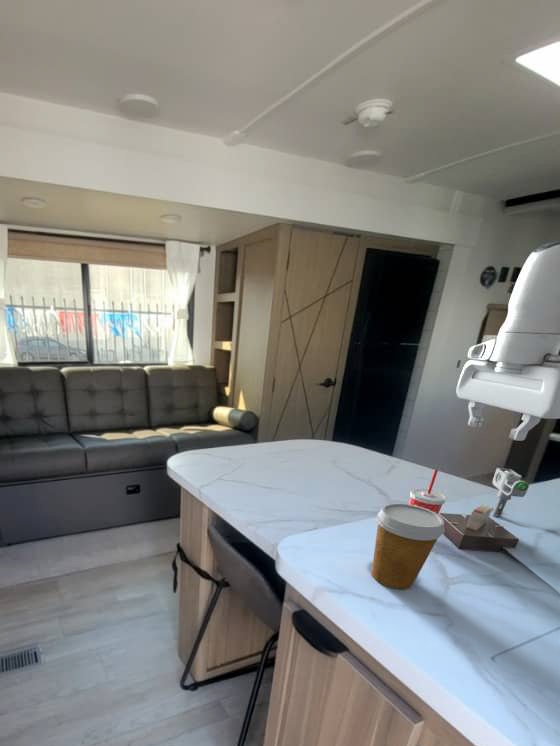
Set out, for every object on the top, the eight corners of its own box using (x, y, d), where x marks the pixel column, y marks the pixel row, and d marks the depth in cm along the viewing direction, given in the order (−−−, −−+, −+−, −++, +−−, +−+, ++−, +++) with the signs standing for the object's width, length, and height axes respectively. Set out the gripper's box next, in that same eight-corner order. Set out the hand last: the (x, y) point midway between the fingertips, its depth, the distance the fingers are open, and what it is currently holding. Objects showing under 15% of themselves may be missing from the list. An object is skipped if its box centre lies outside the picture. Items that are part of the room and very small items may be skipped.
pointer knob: (476, 519, 83) (483, 502, 81) (486, 522, 82) (493, 505, 80) (466, 527, 80) (472, 510, 78) (476, 530, 78) (483, 513, 77)
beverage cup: (431, 545, 79) (455, 478, 73) (397, 536, 82) (417, 471, 76) (432, 533, 84) (455, 468, 78) (400, 525, 86) (419, 462, 80)
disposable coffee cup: (436, 586, 66) (460, 520, 61) (400, 602, 62) (423, 534, 57) (384, 558, 74) (402, 498, 69) (349, 571, 70) (365, 508, 64)
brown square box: (483, 528, 86) (488, 515, 85) (514, 553, 77) (520, 538, 76) (433, 524, 87) (437, 511, 86) (458, 549, 78) (463, 534, 76)
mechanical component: (499, 524, 88) (517, 481, 84) (479, 506, 97) (494, 466, 93) (514, 526, 88) (533, 483, 83) (493, 507, 97) (509, 467, 92)
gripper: (605, 357, 59) (564, 449, 65) (492, 348, 78) (467, 420, 84) (567, 356, 59) (529, 449, 65) (462, 347, 77) (439, 420, 83)
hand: (493, 432), depth 74 cm, fingers open, 8 cm apart
